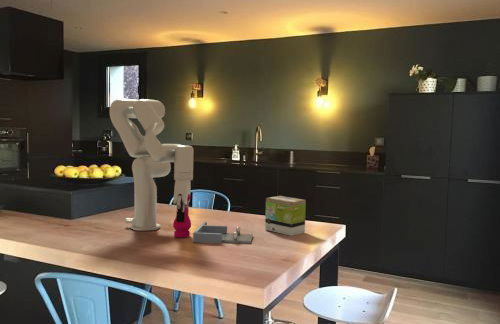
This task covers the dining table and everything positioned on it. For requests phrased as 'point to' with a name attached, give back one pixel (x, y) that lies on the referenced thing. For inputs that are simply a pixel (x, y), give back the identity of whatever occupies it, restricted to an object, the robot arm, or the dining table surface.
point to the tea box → (285, 215)
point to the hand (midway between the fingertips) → (182, 219)
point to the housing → (209, 233)
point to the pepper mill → (183, 223)
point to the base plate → (237, 237)
